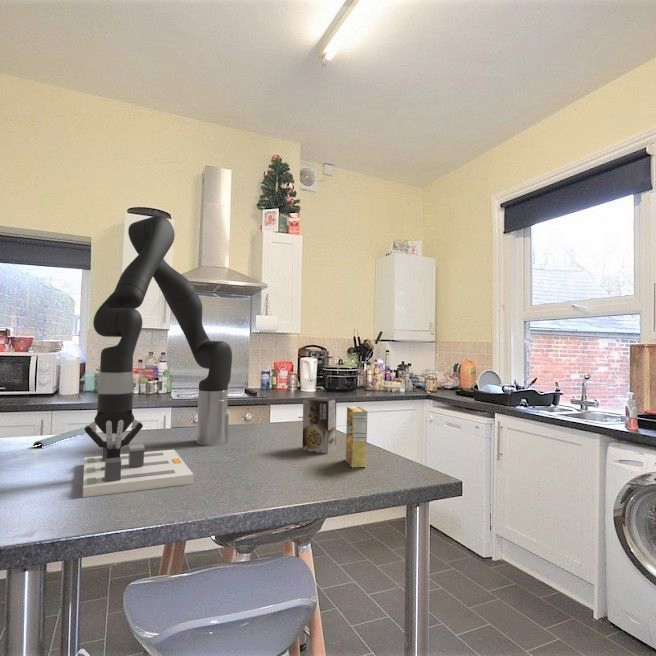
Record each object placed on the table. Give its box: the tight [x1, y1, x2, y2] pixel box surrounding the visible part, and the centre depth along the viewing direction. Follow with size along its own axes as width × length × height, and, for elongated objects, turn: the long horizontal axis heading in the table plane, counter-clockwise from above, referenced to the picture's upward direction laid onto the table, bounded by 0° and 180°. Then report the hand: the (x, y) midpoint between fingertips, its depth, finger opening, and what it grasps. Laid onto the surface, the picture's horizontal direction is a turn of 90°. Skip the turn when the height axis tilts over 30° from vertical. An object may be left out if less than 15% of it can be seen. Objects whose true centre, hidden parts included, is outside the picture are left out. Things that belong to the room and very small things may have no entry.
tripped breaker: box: [128, 443, 146, 467], centre depth 105 cm, size 3×4×4 cm
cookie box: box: [301, 396, 337, 454], centre depth 135 cm, size 9×6×16 cm
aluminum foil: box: [32, 426, 86, 447], centre depth 137 cm, size 23×7×3 cm, turn 177°
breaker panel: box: [82, 440, 194, 498], centre depth 105 cm, size 22×26×6 cm
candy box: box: [345, 406, 368, 469], centre depth 120 cm, size 9×4×15 cm, turn 10°
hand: (112, 464), depth 103 cm, fingers closed
